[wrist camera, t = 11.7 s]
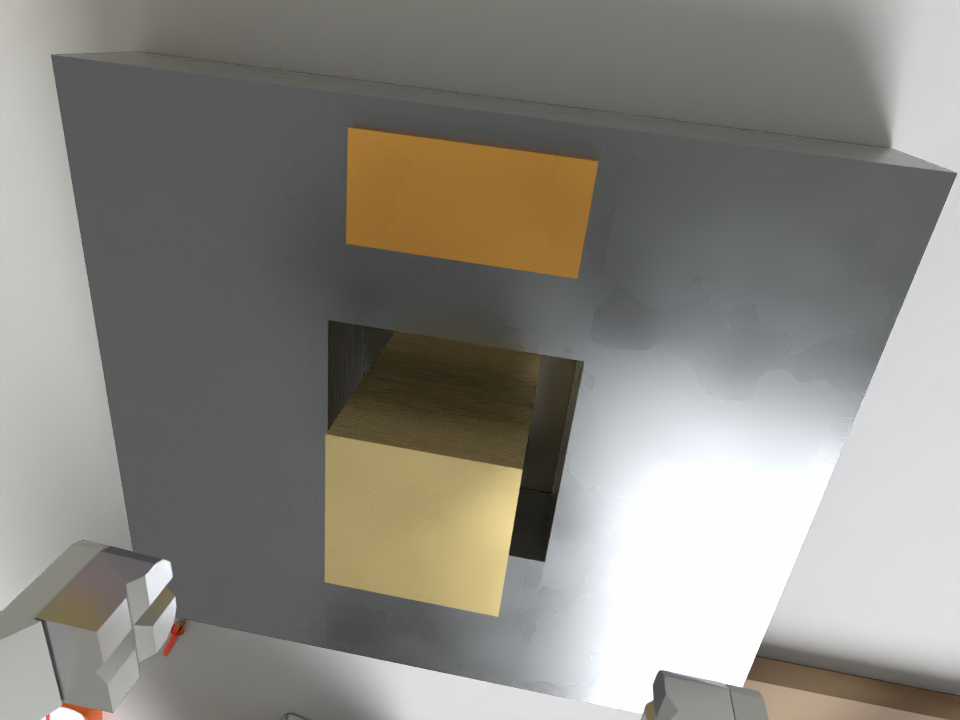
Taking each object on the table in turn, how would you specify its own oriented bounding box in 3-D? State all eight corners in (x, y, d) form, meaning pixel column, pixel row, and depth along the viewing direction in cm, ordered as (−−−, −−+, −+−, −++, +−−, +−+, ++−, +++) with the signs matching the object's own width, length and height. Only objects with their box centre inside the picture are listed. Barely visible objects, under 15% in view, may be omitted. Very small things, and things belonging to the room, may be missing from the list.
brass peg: (543, 344, 18) (523, 469, 13) (523, 463, 20) (498, 616, 15) (402, 321, 19) (325, 434, 13) (394, 440, 21) (324, 582, 15)
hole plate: (892, 148, 15) (965, 176, 12) (708, 647, 22) (725, 740, 19) (138, 51, 17) (40, 55, 14) (193, 545, 24) (136, 617, 21)
